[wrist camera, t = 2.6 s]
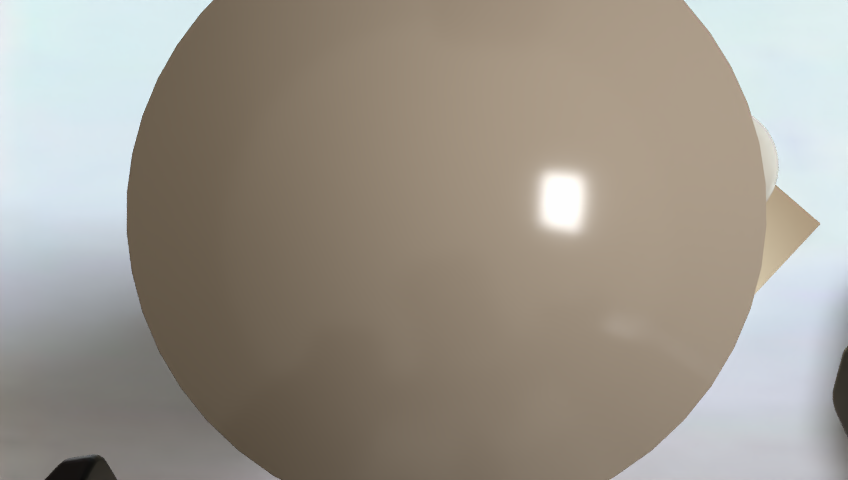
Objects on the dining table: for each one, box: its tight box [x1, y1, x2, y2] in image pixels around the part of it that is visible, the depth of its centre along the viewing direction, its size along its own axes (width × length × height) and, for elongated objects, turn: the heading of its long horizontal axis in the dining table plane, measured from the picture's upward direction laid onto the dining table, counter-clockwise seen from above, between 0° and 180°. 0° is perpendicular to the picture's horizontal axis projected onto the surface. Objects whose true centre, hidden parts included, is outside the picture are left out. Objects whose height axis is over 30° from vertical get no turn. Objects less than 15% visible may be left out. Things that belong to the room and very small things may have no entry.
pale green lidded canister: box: [127, 0, 767, 480], centre depth 12 cm, size 5×5×12 cm
